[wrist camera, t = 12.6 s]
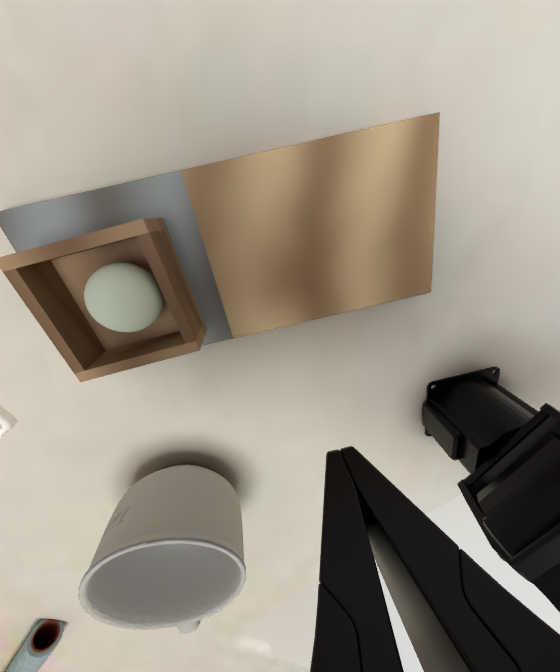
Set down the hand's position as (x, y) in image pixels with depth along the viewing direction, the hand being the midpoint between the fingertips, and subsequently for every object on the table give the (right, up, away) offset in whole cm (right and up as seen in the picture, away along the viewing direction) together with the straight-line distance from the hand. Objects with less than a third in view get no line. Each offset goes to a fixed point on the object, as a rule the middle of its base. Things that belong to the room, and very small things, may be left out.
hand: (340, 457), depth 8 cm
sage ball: (-10, +6, +6) cm, 13 cm away
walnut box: (-11, +6, +8) cm, 15 cm away
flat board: (-4, +9, +9) cm, 13 cm away
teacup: (-11, -12, +18) cm, 24 cm away
